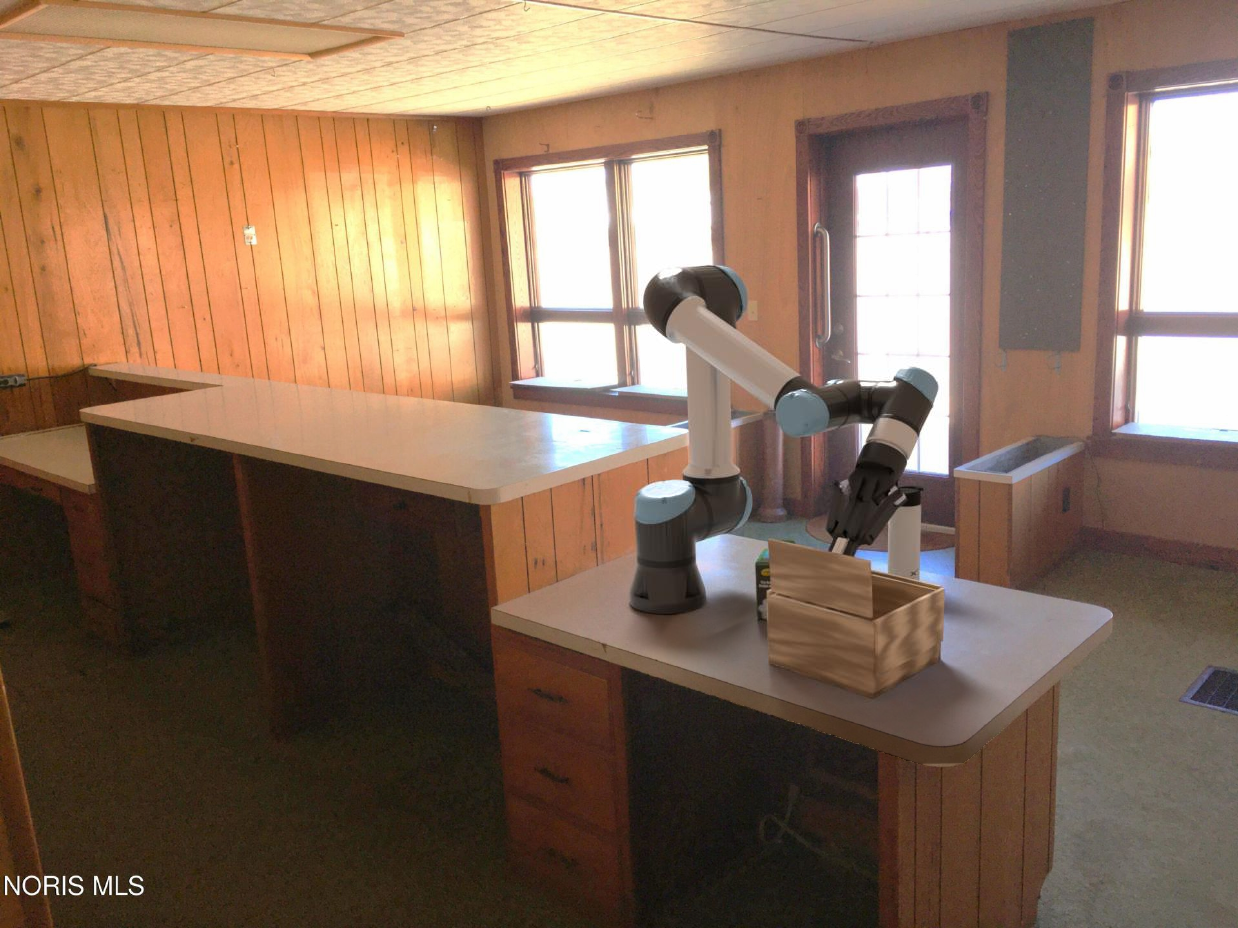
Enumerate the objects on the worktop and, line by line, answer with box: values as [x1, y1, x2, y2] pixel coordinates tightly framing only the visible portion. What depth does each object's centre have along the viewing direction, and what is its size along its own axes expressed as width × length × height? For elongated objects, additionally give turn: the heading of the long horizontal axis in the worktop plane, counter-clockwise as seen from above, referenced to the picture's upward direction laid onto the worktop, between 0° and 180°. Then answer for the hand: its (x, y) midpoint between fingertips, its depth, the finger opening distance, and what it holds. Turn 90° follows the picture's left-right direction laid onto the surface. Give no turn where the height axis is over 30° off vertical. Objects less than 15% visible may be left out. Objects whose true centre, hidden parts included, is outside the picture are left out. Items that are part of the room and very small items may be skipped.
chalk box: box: [754, 539, 796, 621], centre depth 187 cm, size 9×9×15 cm
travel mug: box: [887, 485, 924, 580], centre depth 201 cm, size 6×7×20 cm
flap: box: [767, 537, 873, 618], centre depth 155 cm, size 1×19×9 cm, turn 44°
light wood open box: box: [766, 568, 946, 699], centre depth 164 cm, size 21×21×12 cm
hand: (830, 577), depth 155 cm, fingers closed
